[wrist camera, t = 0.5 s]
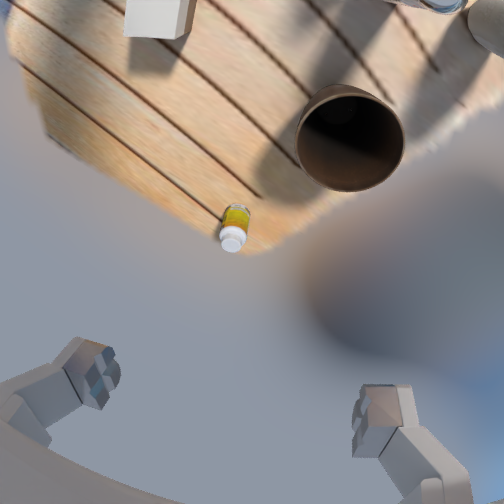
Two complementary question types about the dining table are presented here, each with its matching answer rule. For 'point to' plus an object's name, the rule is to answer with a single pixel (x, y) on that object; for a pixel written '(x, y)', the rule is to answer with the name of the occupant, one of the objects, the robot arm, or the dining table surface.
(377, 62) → the dining table surface
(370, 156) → the plant pot
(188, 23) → the block bottom
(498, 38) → the grey thermos flask
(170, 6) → the block top
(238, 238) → the supplement bottle
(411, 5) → the water bottle
